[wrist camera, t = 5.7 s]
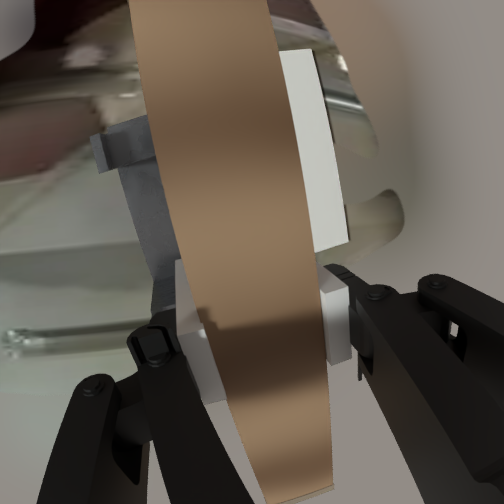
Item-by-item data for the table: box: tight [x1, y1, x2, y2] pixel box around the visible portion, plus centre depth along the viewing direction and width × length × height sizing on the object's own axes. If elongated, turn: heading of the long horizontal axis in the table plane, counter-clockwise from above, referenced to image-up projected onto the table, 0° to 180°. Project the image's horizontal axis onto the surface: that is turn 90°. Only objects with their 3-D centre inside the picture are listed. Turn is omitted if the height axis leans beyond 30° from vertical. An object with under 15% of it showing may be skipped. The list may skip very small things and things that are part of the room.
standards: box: [90, 115, 182, 317], centre depth 30 cm, size 22×6×10 cm, turn 13°
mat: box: [279, 49, 348, 252], centre depth 35 cm, size 24×9×1 cm, turn 13°
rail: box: [127, 0, 334, 504], centre depth 11 cm, size 22×4×3 cm, turn 11°
